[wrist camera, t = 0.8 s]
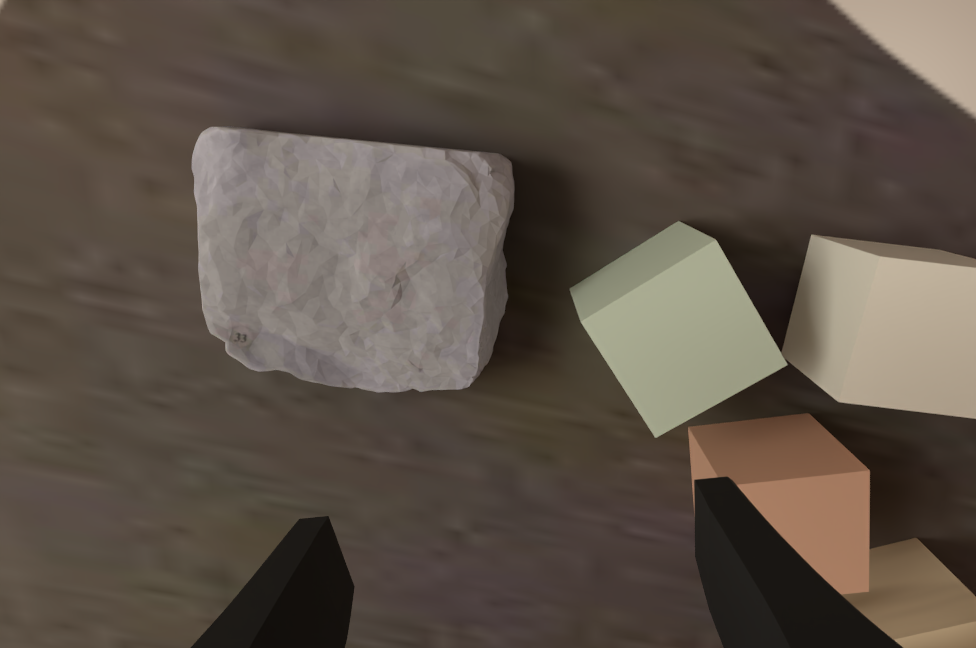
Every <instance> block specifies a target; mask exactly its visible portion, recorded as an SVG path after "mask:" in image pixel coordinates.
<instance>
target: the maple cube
mask: <svg viewBox="0 0 976 648" xmlns="http://www.w3.org/2000/svg"><path fill="white" fill-rule="evenodd" d="M841 595H842V596H843V597H844V598H845V599H846V600H848V601H849V602H850V603H851V604H852V605H853V606H854V607H855V608H856V609H858V610H859V611H860V612H861V613H862V614H863V615H864V616H866V617H867V618H868V619H869V620H870V621H871V622H873V623H874V624H875V625H876V626H877V627H879V628H880V629H881V630H882V631H883V632H885V633H886V634H887V635H888V636H890V637H891V638H892V639H893V640H895V641H896V642H897V643H898V644H900V645H901V646H902V647H903V648H976V596H975V595H974V594H973V593H972V592H971V591H970V590H969V589H968V588H967V587H966V586H965V585H964V584H963V583H962V582H961V581H960V580H959V579H958V578H957V577H956V576H955V575H954V574H953V573H952V572H951V571H949V570H948V569H947V568H946V567H945V566H944V565H943V564H942V563H941V562H940V561H939V560H938V559H937V558H936V557H935V556H934V555H933V554H932V553H931V552H930V551H929V550H928V549H927V548H926V547H925V546H924V545H923V544H922V543H921V542H920V541H919V540H918V539H917V538H913V539H909V540H905V541H901V542H897V543H892V544H888V545H884V546H880V547H876V548H872V549H869V592H861V593H850V594H841Z"/></svg>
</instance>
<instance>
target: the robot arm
mask: <svg viewBox="0 0 976 648" xmlns="http://www.w3.org/2000/svg"><path fill="white" fill-rule="evenodd" d="M694 496H695V557H696V561H697V565H698V569H699V573H700V577H701V580H702V584H703V588H704V592H705V595H706V599H707V603H708V607H709V610H710V613H711V615H712V618H713V621H714V623H715V626H716V629H717V631H718V634H719V637H720V639H721V642H722V644H723V647H724V648H903V647H902V646H901V645H900V644H898V643H897V642H896V641H895V640H893V639H892V638H891V637H890V636H888V635H887V634H886V633H885V632H883V631H882V630H881V629H880V628H879V627H877V626H876V625H875V624H874V623H873V622H871V621H870V620H869V619H868V618H867V617H866V616H864V615H863V614H862V613H861V612H860V611H859V610H858V609H856V608H855V607H854V606H853V605H852V604H851V603H850V602H849V601H848V600H846V599H845V598H844V597H843V596H842V595H841V594H840V593H839V592H838V591H837V590H836V589H834V588H833V587H832V586H831V585H830V584H829V583H828V582H827V581H826V580H825V579H824V578H823V577H822V576H821V575H820V574H819V573H817V572H816V571H815V570H814V569H813V568H812V567H811V566H810V565H809V564H808V563H807V562H806V561H805V560H804V559H803V558H802V557H801V556H800V555H799V554H798V553H797V552H796V550H795V549H794V548H793V547H792V546H791V545H790V544H789V543H788V542H787V541H786V540H785V539H784V538H783V537H782V536H781V535H780V534H779V533H778V532H777V531H776V530H775V529H774V527H773V526H772V525H771V524H770V523H769V522H768V521H767V520H766V519H765V518H764V516H763V515H762V514H761V513H760V512H759V511H758V510H757V509H756V507H755V506H754V505H753V504H752V503H751V502H750V500H749V499H748V498H747V497H746V496H745V495H744V493H743V492H742V491H741V490H740V489H739V487H738V486H737V485H736V484H735V482H734V481H733V480H731V479H730V478H729V477H727V476H726V477H716V478H706V479H696V480H694ZM353 593H354V584H353V582H352V579H351V576H350V573H349V571H348V568H347V565H346V563H345V560H344V557H343V554H342V552H341V549H340V546H339V544H338V541H337V538H336V535H335V533H334V530H333V527H332V525H331V522H330V519H329V516H325V517H315V518H305V519H299V520H298V521H297V523H296V524H295V525H294V526H293V527H292V529H291V530H290V531H289V532H288V534H287V535H286V536H285V537H284V538H283V540H282V541H281V542H280V543H279V545H278V546H277V547H276V548H275V550H274V551H273V552H272V553H271V555H270V556H269V557H268V558H267V559H266V561H265V562H264V563H263V564H262V566H261V567H260V568H259V569H258V571H257V572H256V573H255V574H254V576H253V577H252V578H251V579H250V580H249V582H248V583H247V584H246V585H245V586H244V588H243V589H242V590H241V591H240V592H239V594H238V595H237V596H236V597H235V598H234V600H233V601H232V602H231V603H230V604H229V606H228V607H227V608H226V609H225V610H224V611H223V613H222V614H221V615H220V616H219V617H218V618H217V619H216V620H215V621H214V623H213V624H212V625H211V626H210V627H209V628H208V629H207V630H206V631H205V633H204V634H203V635H202V636H201V637H200V638H199V639H198V640H197V641H196V643H195V644H194V645H193V646H192V647H191V648H345V644H346V640H347V635H348V629H349V622H350V616H351V609H352V601H353Z"/></svg>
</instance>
